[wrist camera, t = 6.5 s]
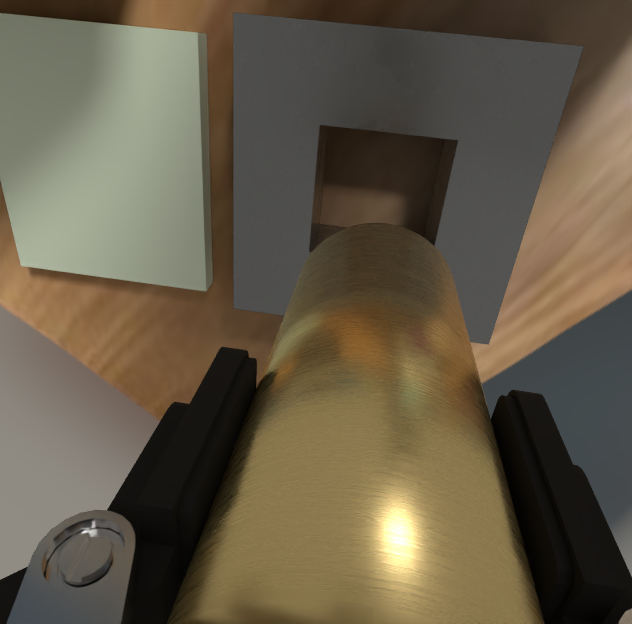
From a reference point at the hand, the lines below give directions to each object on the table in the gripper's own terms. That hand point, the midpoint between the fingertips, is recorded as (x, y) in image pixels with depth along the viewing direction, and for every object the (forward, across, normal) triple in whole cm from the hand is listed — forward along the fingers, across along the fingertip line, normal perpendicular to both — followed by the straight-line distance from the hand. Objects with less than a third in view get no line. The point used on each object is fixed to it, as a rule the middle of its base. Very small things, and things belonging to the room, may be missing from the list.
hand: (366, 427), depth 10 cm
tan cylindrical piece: (+6, 0, 0) cm, 6 cm away
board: (+23, +18, +1) cm, 29 cm away
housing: (+23, 0, 0) cm, 23 cm away
